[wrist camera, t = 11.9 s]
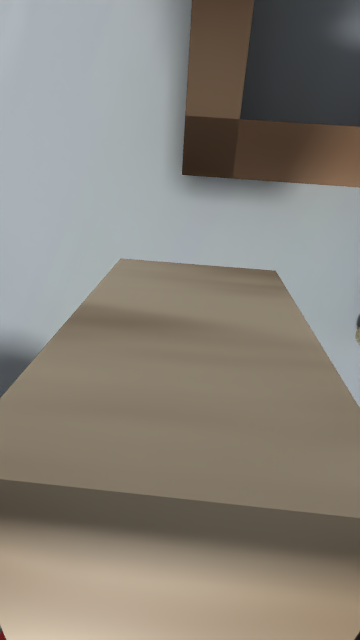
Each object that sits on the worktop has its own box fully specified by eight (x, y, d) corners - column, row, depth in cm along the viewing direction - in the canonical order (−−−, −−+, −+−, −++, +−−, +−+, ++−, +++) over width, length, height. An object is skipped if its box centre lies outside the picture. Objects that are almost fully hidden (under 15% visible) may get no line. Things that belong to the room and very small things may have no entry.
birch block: (250, 394, 13) (309, 706, 5) (123, 382, 13) (18, 667, 6) (275, 270, 10) (432, 525, 3) (120, 258, 10) (-64, 472, 3)
